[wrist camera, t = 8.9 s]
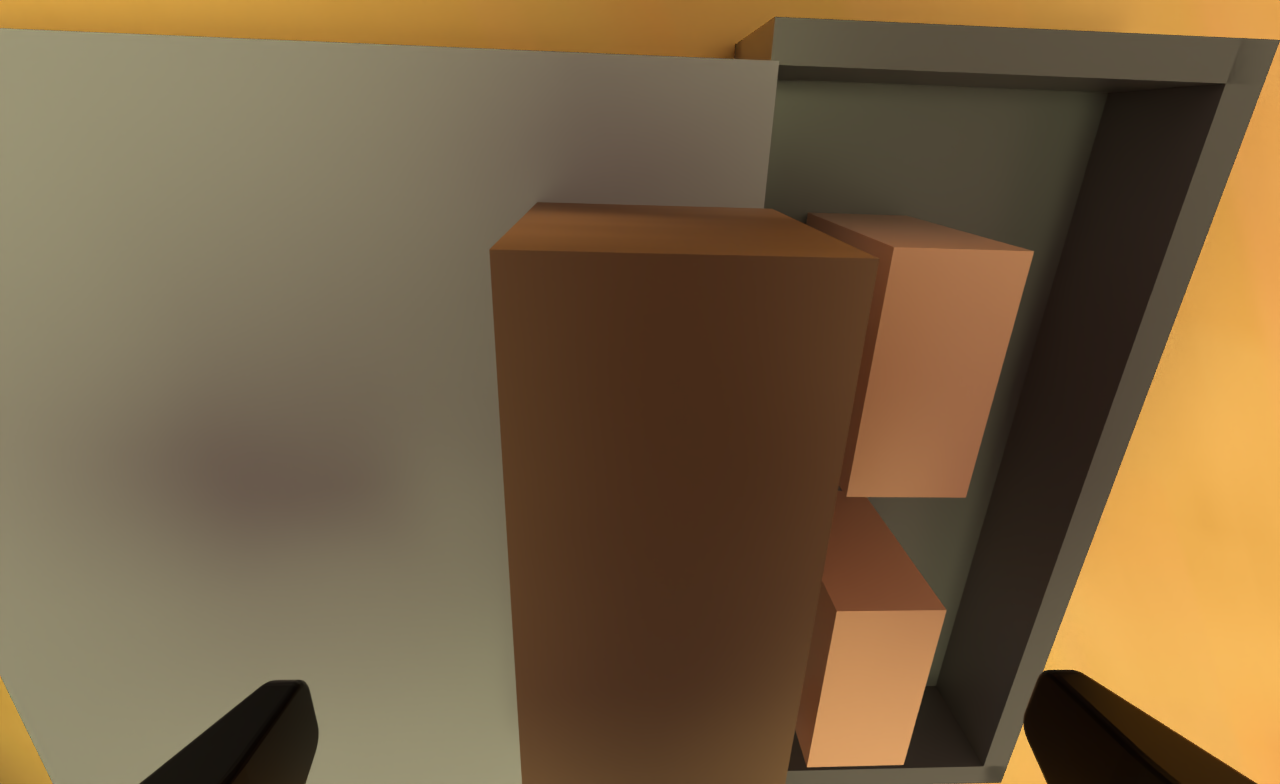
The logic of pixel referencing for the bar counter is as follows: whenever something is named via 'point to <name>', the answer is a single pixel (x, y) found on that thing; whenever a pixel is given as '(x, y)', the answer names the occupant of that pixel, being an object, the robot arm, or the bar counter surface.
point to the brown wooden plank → (669, 480)
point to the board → (291, 373)
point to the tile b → (926, 352)
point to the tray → (1050, 304)
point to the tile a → (866, 646)
